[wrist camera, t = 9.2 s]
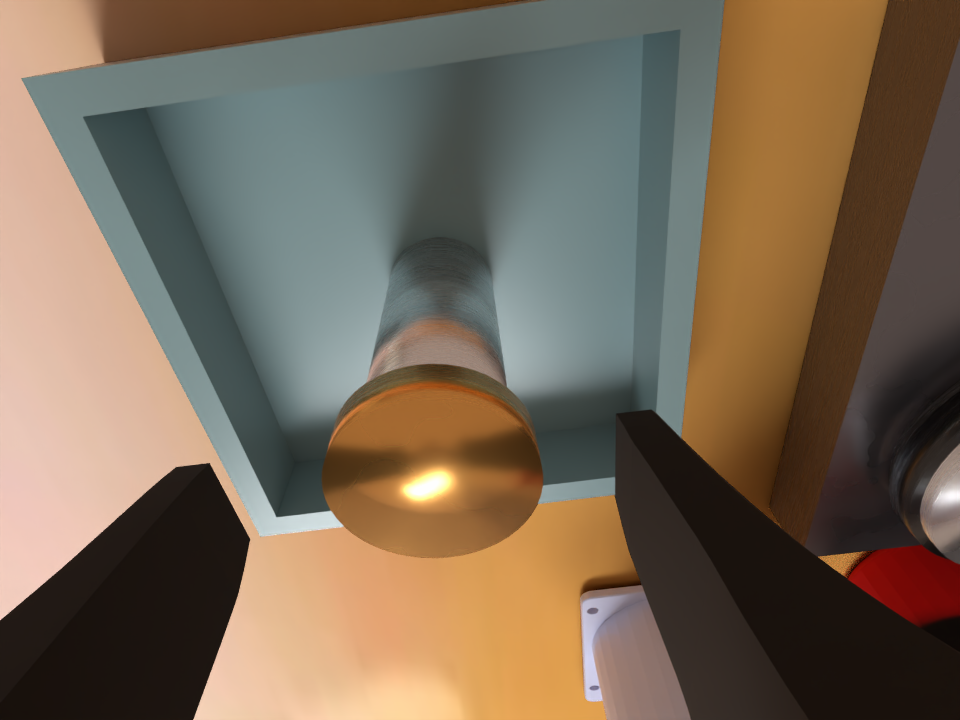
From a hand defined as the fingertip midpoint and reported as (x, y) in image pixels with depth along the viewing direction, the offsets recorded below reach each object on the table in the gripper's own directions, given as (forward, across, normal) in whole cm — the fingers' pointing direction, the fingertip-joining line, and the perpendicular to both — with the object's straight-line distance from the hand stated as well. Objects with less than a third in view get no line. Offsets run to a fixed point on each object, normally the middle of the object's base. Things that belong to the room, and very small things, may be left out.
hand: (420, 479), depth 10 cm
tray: (+8, 0, 0) cm, 8 cm away
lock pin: (+8, 0, 0) cm, 8 cm away
